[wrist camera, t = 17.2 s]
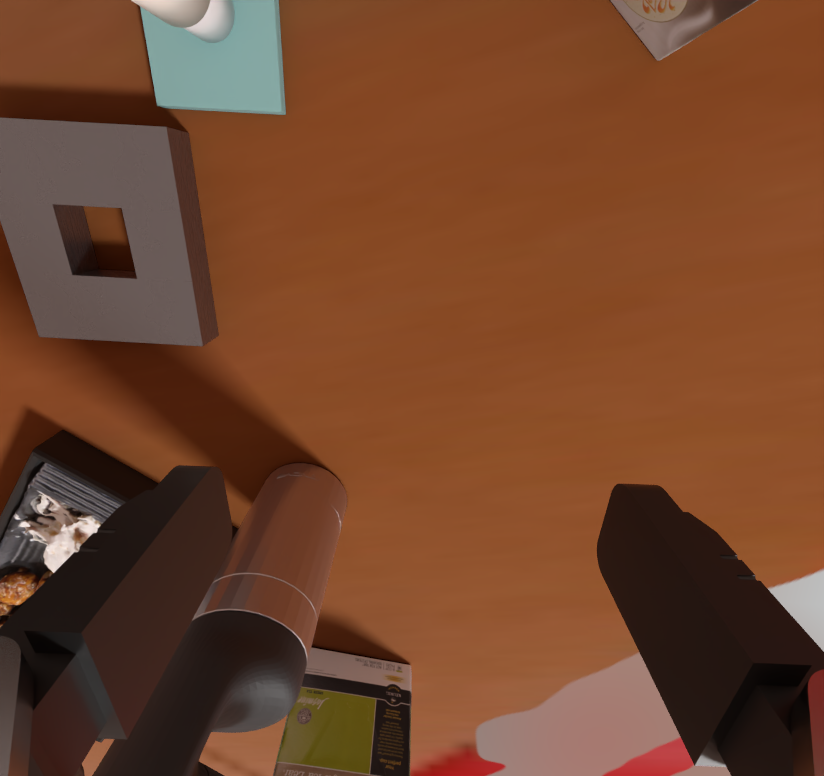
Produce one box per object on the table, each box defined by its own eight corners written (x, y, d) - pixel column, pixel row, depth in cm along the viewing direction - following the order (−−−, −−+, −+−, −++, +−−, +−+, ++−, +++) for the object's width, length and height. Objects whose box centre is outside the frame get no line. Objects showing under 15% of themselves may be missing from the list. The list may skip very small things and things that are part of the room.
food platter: (67, 426, 44) (-30, 489, 34) (270, 542, 50) (234, 622, 40) (-44, 640, 59) (-133, 724, 50) (121, 709, 65) (70, 795, 56)
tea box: (295, 686, 60) (258, 826, 47) (305, 642, 56) (268, 782, 43) (397, 704, 61) (389, 846, 48) (414, 662, 57) (411, 805, 44)
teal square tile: (285, 114, 31) (281, 112, 30) (164, 108, 31) (157, 105, 30) (275, -49, 27) (270, -57, 26) (137, -56, 27) (128, -64, 26)
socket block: (218, 335, 38) (202, 346, 36) (66, 326, 38) (39, 336, 36) (188, 132, 32) (166, 126, 29) (4, 122, 32) (-35, 115, 29)
